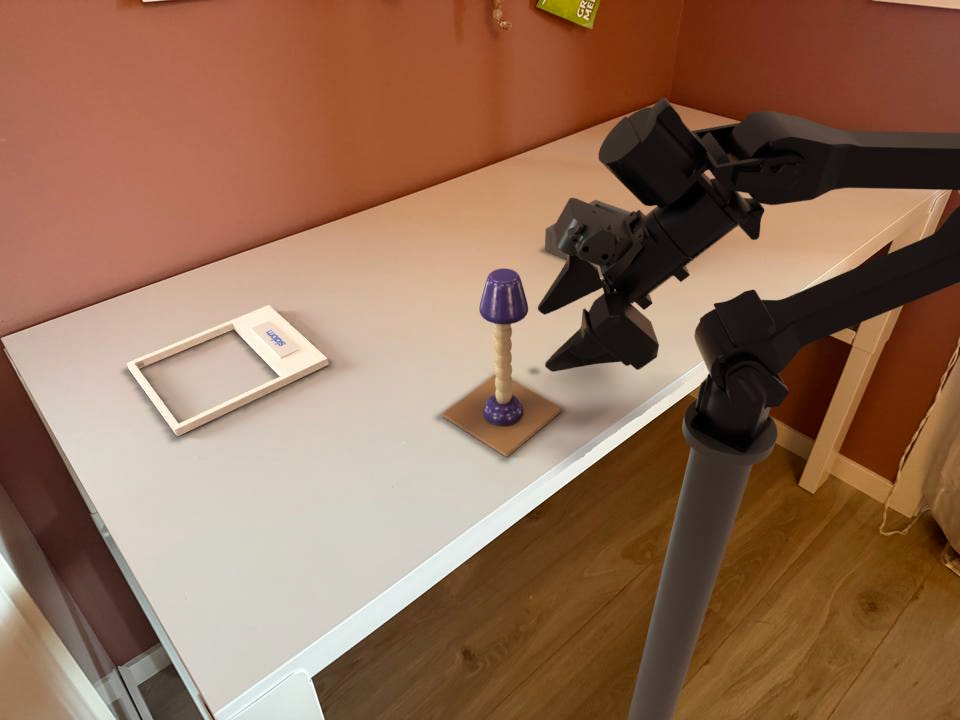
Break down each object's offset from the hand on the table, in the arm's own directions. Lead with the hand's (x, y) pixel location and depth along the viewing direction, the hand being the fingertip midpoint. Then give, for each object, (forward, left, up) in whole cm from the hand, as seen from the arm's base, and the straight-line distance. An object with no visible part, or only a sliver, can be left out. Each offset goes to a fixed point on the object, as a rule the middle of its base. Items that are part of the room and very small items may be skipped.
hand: (544, 338), depth 70 cm
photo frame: (+32, +18, -10) cm, 38 cm away
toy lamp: (+3, +3, -10) cm, 10 cm away
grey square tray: (+15, -33, -10) cm, 38 cm away
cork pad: (+3, +3, -10) cm, 11 cm away
